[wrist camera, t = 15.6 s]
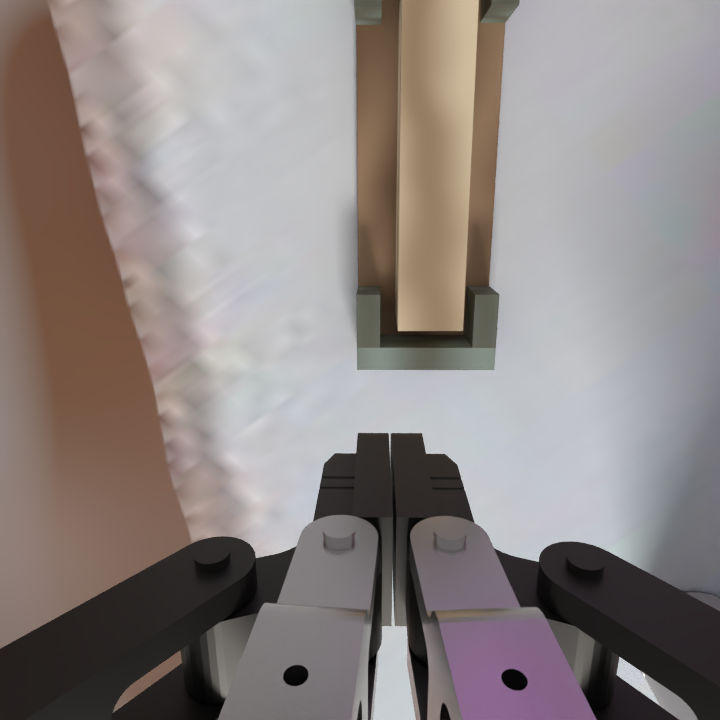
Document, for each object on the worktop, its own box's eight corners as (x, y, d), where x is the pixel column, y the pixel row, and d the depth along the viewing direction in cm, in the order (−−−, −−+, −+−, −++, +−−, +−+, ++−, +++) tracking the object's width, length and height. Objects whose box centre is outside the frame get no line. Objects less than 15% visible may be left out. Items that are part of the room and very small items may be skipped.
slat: (465, -16, 33) (481, -52, 28) (452, 313, 39) (462, 331, 34) (398, -15, 33) (402, -50, 28) (395, 314, 39) (397, 331, 34)
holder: (509, -71, 32) (526, -106, 29) (482, 352, 40) (494, 369, 36) (356, -68, 33) (353, -103, 29) (359, 352, 40) (357, 369, 36)
